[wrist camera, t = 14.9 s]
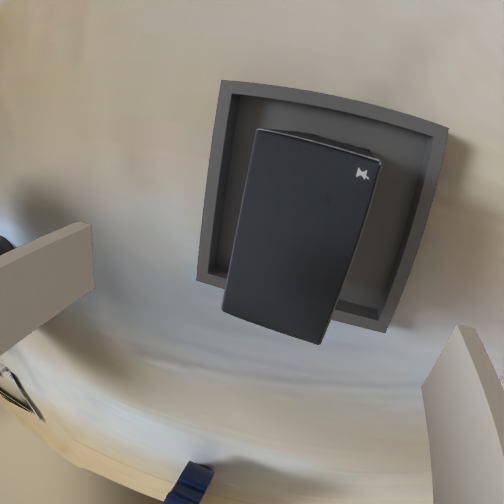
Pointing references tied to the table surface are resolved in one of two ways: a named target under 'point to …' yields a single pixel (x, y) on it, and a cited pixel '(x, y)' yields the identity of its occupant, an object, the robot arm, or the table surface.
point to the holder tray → (341, 130)
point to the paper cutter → (3, 368)
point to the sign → (190, 485)
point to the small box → (298, 230)
